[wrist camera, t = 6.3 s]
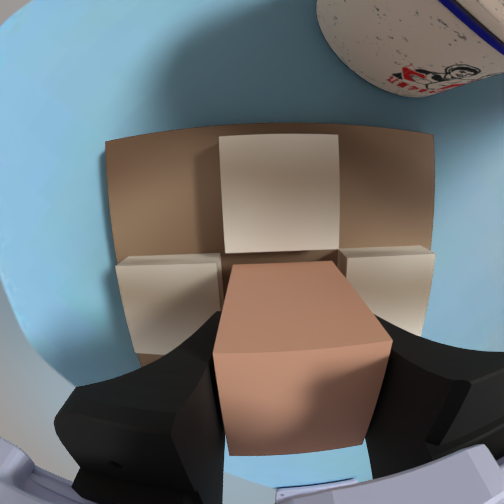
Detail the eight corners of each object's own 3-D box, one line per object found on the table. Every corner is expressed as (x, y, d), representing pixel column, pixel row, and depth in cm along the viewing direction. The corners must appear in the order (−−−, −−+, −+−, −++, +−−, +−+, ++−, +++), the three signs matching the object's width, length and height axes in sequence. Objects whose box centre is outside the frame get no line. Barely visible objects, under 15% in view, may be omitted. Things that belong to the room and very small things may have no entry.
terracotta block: (326, 343, 13) (361, 444, 7) (238, 348, 13) (229, 455, 7) (331, 260, 12) (392, 340, 6) (232, 264, 12) (212, 352, 6)
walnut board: (392, 386, 17) (405, 410, 14) (158, 398, 17) (149, 424, 15) (423, 136, 12) (450, 132, 10) (114, 142, 13) (89, 139, 10)
